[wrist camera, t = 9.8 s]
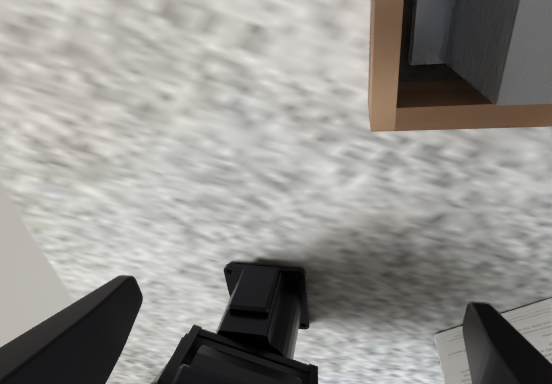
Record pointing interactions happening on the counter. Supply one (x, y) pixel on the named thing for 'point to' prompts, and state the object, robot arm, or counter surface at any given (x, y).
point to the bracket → (488, 45)
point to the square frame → (429, 90)
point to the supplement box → (527, 320)
